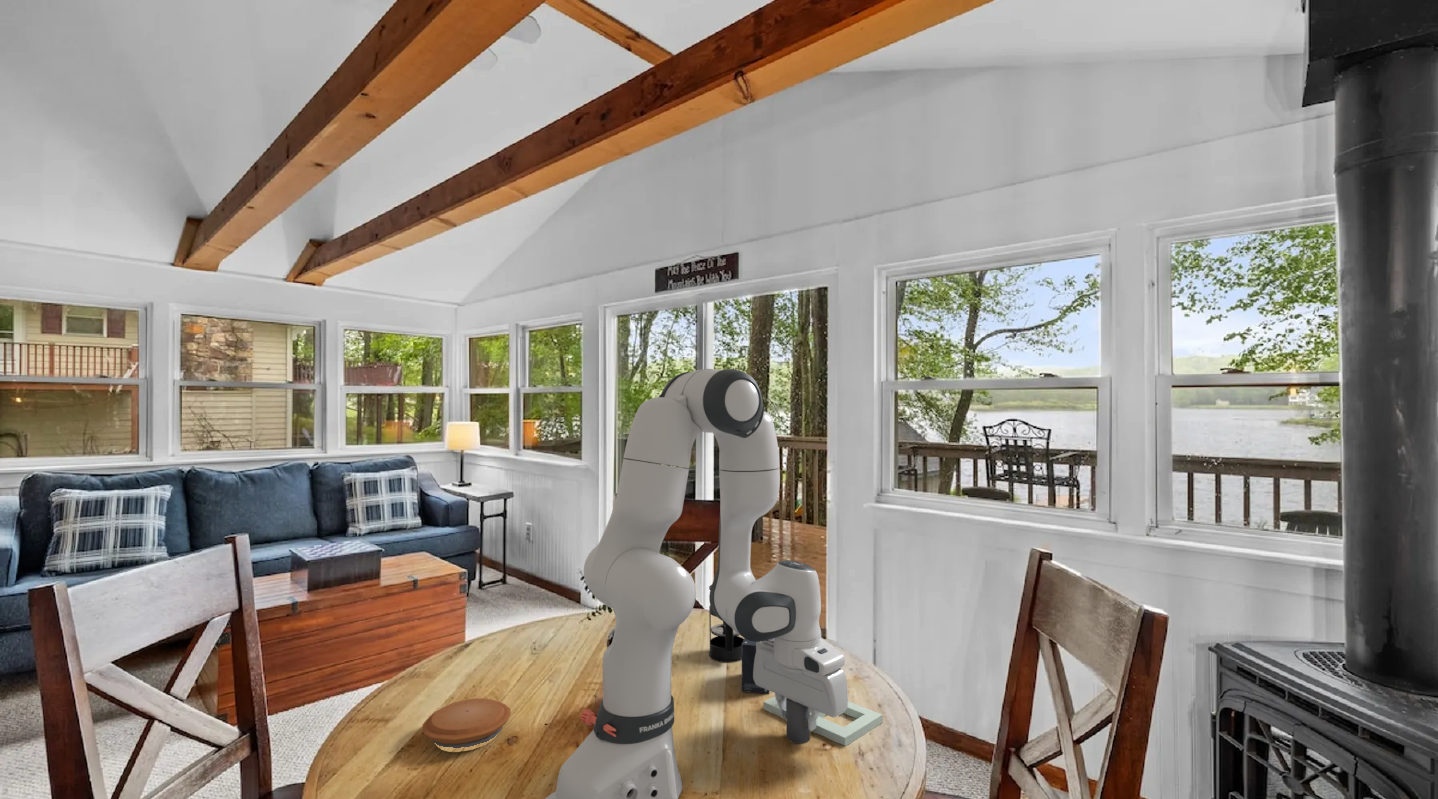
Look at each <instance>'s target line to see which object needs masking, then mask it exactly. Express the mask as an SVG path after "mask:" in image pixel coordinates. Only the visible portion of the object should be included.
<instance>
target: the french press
mask: <svg viewBox="0 0 1438 799" xmlns="http://www.w3.org/2000/svg"><path fill="white" fill-rule="evenodd" d="M711 586H712V584H711V585H709V586H708V589H709V591H710V590H711ZM708 608H709V615H708V616H709V625H708V626H709V652H708V657H709V658H710V659H711V660H713V661H715V662H720V663H736V662H740V661H742V643H743V640H744V638H743V637H742V636H741V635H740V634H738V633H737V632H736V631H735V630H733V629H732V628H731V627H730V626H729V625H728V624H727V623H725V622H723V621H722V623H720V624H715V625H713V626H712V623H711V622H712V621H711V620H712V618H711V617H712V616H713V617H716V618H718V617H717V616H716V615H715V614H714V613H713V611H712V609H711V606H710V605H709V607H708ZM712 635H714V637H712Z"/></svg>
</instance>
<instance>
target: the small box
mask: <svg viewBox="0 0 1438 799" xmlns="http://www.w3.org/2000/svg"><path fill="white" fill-rule="evenodd" d="M743 639H744V640H743V643H742V660H741V686H740V687H741V692H746V693H754V694H755V693H756V694H766V695H769V694H770V692H771V691H769V690H767V689H764V688H762V687H760V686H757V685H756V684H755V681H754V679H753V669H754V660H755V654H756V643H757V642H752V641H749V640H747V639H745V638H743ZM770 640H774V638H773V639H770Z"/></svg>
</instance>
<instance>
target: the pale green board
mask: <svg viewBox="0 0 1438 799" xmlns="http://www.w3.org/2000/svg"><path fill="white" fill-rule="evenodd" d="M763 710H765V711H767V712H769V713H771V714H773V715H776V716H778V717H780V718H782V717H781V716H780V708H779V705H778V703H777V701H776V698H775V696H773V697H770V698H768V699H766V700H765V701H763ZM843 714H845V715H847V716H849V717H852V718H854V720H853V721H852V722H850V723H848V724H847V725H844V726H842V725H840V724H838V723H837V722H833V721H831V720H829V719H826V718H824V717H825V716H827V715H826V714H823V713H820V715H819V716H818V718H817V719H816V729H814V730H813V731H812V732H813V733H815V734H818V735H820V736H822V737H824V738H827V739H829V740H831V741H833V742H835V743H837V744H839V745H842V746H844V747H846V746H848V745H849V744H851V743H852V742H855V741H856V740H858V739H859V738H861V737H862V736H864V735H866V733H868V732H869V731H871V730H873V729H874V728H877V727H878V726H880V725H881V724H883V721H884V719H883V717H884V716H883V714H882V713H880V712H876V711H874V710H871V709H869V708H867V707H864V706H862V705H859V704H856V703H853V702H851V701H849V700H848V707H847V709H846V710H845V712H844V713H843ZM810 715H811V713H810Z"/></svg>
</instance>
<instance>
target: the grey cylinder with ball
mask: <svg viewBox="0 0 1438 799" xmlns="http://www.w3.org/2000/svg"><path fill="white" fill-rule="evenodd" d="M809 716H810V713H809V710H808V707H807V706H804V705H802V704H800V703H797V702H795V701H793V700H790V699H788V698H786V719H785V722H786V724H785V725H786V727H785V729H786V735H785V736H786V740H788V741H789V742H791V743H794V744H804V743H808V742H810V740H811V731H810V730H808V729H806V728H805V727H804V725H805V723H804V719H806V718H808V717H809Z"/></svg>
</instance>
